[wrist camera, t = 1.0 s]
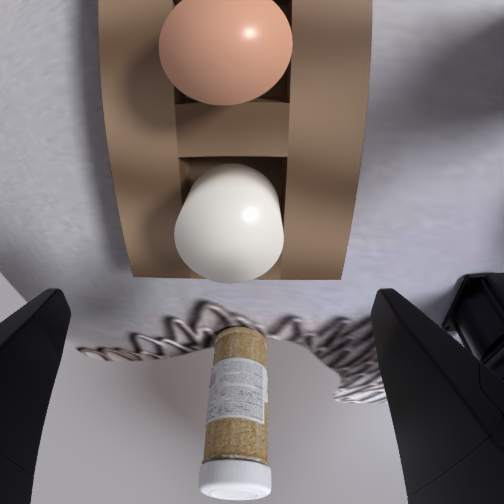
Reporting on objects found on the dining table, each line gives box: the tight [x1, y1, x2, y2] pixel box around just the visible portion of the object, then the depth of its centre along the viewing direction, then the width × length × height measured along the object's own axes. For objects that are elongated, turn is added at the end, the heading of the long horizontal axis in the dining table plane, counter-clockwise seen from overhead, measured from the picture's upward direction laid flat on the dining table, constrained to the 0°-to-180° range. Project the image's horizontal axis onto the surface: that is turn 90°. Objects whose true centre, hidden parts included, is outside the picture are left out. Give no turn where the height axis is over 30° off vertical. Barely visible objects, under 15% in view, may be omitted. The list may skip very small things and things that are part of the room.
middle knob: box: [159, 0, 293, 106], centre depth 10 cm, size 4×4×3 cm
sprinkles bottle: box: [199, 327, 271, 500], centre depth 21 cm, size 5×5×14 cm
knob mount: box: [98, 0, 372, 280], centre depth 13 cm, size 24×12×4 cm, turn 0°
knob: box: [174, 164, 284, 283], centre depth 14 cm, size 4×4×3 cm
